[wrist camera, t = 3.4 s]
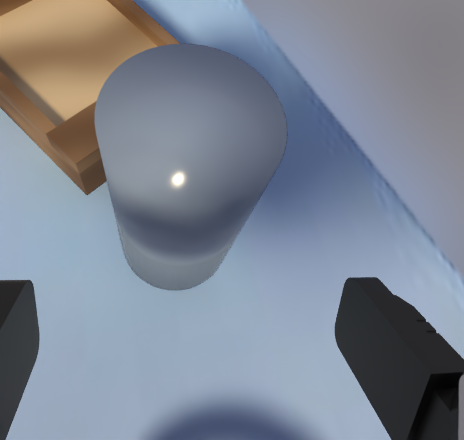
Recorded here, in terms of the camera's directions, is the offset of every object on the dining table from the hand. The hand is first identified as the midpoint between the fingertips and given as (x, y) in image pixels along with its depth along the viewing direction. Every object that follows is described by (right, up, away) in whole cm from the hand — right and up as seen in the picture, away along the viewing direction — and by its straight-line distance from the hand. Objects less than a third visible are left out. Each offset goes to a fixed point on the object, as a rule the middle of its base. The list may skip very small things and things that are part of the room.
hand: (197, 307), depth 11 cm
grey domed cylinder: (-2, +1, +11) cm, 12 cm away
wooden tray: (-8, +11, +14) cm, 19 cm away
